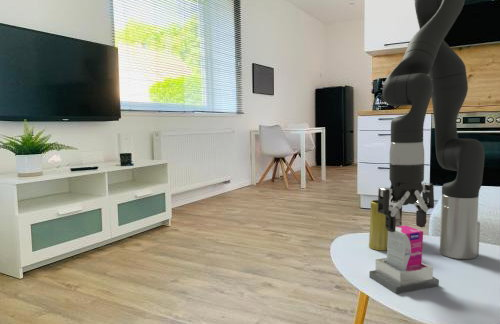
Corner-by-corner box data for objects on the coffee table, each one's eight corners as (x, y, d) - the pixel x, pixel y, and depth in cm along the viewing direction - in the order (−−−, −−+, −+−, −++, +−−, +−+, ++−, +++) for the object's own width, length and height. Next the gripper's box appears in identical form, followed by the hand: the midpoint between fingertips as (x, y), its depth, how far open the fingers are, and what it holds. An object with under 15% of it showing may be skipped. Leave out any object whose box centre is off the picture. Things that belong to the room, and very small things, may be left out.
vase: (367, 243, 122) (367, 199, 121) (387, 244, 122) (388, 199, 120) (370, 250, 116) (371, 203, 115) (391, 251, 116) (392, 203, 114)
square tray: (409, 270, 101) (409, 253, 100) (438, 285, 91) (439, 267, 91) (369, 277, 97) (369, 259, 97) (395, 293, 88) (396, 274, 87)
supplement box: (403, 281, 90) (404, 233, 89) (385, 272, 96) (386, 227, 95) (422, 277, 92) (423, 230, 91) (404, 268, 98) (405, 224, 97)
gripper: (419, 157, 96) (418, 221, 98) (370, 162, 92) (370, 228, 94) (443, 160, 89) (442, 229, 91) (391, 165, 85) (391, 237, 87)
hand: (406, 228), depth 93 cm, fingers open, 8 cm apart
